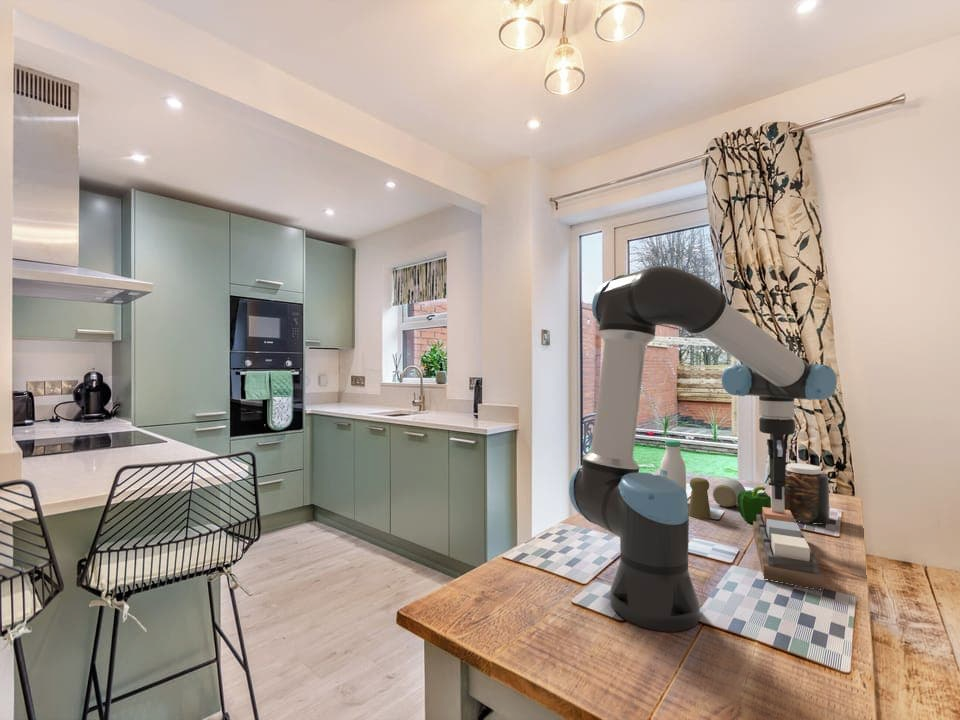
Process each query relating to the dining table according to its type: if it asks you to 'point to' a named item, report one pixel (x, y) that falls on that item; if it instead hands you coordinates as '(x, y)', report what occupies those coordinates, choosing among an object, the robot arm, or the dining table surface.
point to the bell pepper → (753, 503)
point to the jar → (806, 493)
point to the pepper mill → (699, 499)
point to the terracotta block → (776, 515)
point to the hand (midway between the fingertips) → (777, 510)
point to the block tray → (785, 562)
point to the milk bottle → (673, 463)
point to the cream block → (790, 547)
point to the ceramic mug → (727, 492)
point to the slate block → (782, 528)
